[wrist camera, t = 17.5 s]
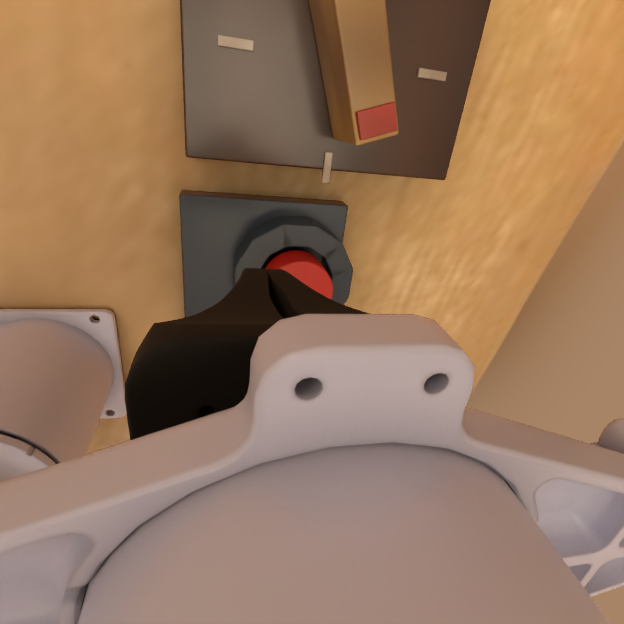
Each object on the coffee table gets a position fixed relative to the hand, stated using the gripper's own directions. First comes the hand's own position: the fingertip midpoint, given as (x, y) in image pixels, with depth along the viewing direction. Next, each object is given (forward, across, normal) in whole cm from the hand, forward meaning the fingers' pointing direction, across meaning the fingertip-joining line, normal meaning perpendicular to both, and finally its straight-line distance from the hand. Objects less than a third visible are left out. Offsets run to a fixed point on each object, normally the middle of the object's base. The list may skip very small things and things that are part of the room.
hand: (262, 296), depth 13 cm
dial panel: (+10, -4, -8) cm, 13 cm away
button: (+8, -3, +3) cm, 9 cm away
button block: (+10, -1, +3) cm, 11 cm away
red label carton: (+7, -4, -8) cm, 11 cm away
